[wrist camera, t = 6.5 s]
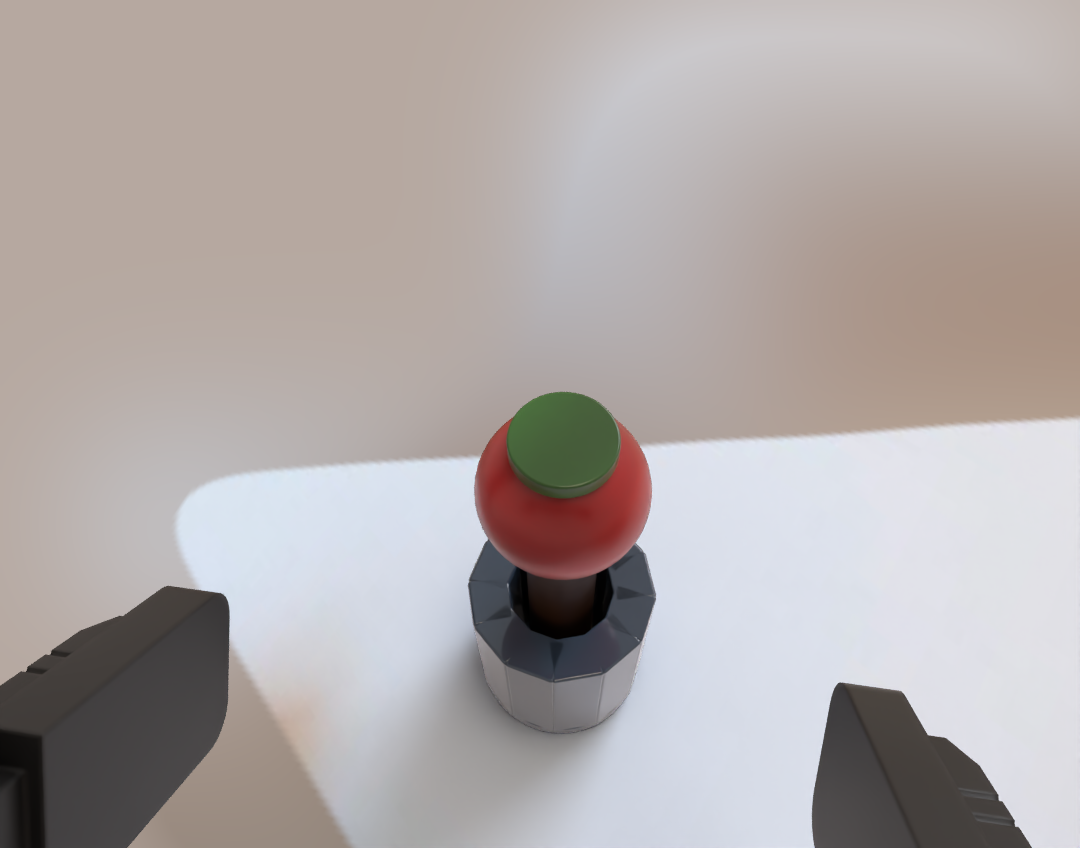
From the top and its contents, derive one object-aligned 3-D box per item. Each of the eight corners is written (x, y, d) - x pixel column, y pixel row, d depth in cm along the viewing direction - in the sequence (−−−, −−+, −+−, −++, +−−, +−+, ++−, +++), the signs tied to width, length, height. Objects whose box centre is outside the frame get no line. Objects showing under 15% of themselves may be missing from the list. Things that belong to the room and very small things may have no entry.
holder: (459, 700, 24) (439, 641, 20) (516, 564, 27) (509, 484, 22) (609, 757, 23) (621, 708, 19) (655, 611, 26) (675, 538, 22)
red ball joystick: (481, 684, 24) (434, 489, 15) (525, 577, 26) (508, 339, 16) (598, 729, 23) (628, 553, 14) (635, 615, 25) (684, 389, 16)
